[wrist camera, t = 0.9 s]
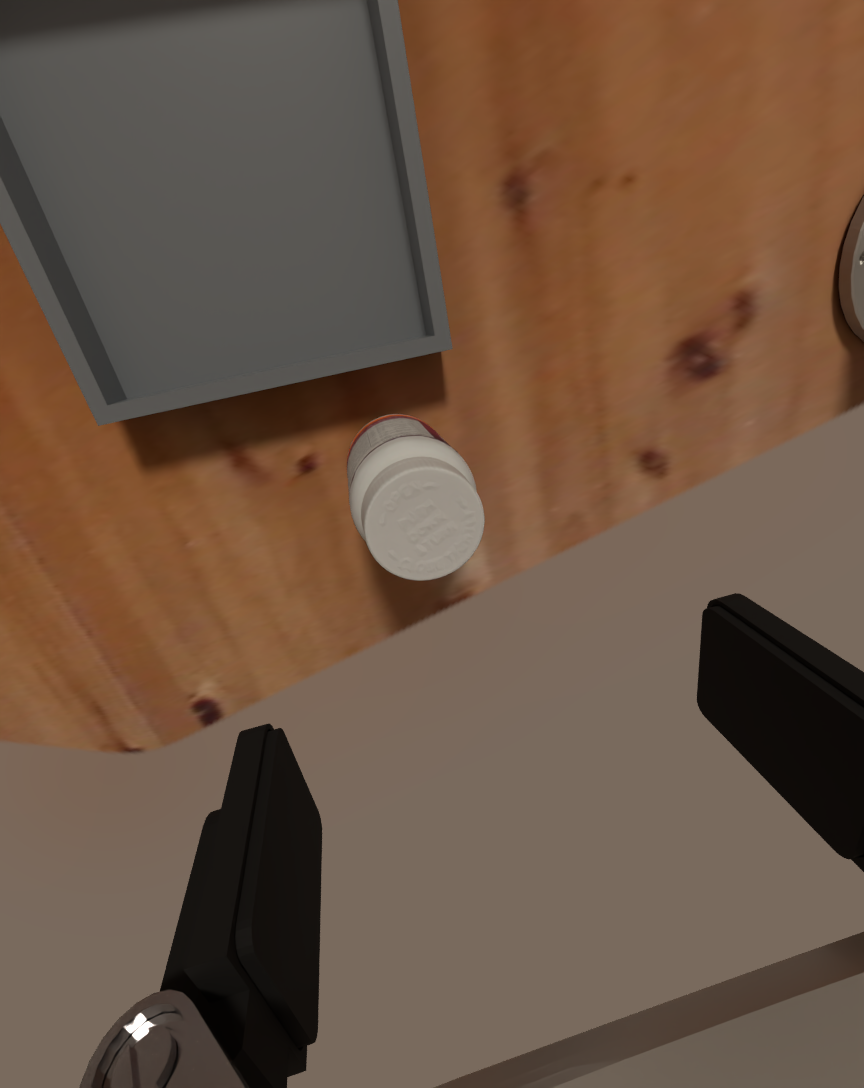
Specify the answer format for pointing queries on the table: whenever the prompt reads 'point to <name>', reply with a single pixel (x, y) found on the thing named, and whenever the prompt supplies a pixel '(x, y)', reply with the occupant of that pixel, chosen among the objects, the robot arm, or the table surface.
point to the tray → (216, 193)
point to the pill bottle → (413, 498)
